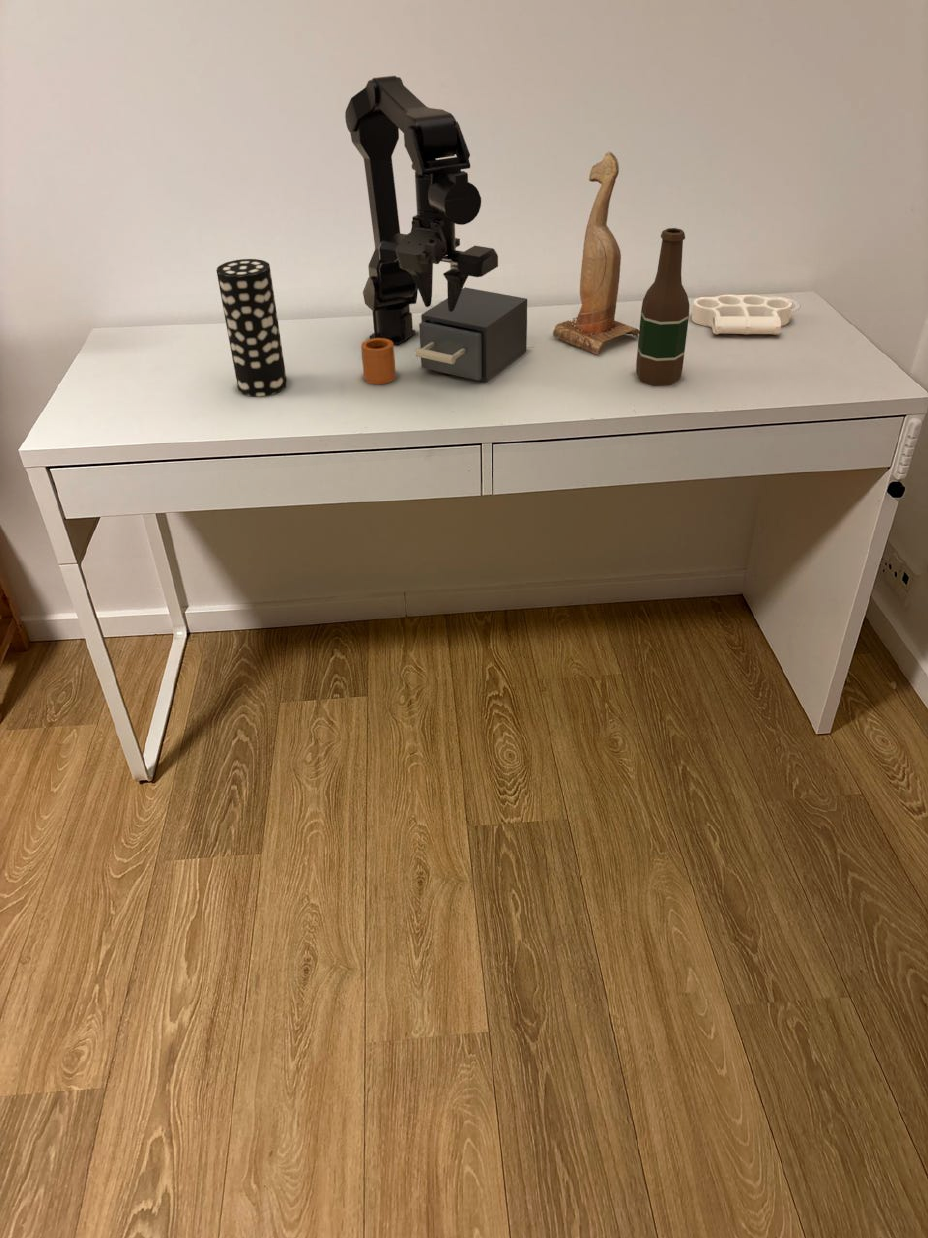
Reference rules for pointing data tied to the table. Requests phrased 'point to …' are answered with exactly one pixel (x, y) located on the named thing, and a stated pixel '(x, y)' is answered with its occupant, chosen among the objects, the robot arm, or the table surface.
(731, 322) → the white brass knuckles
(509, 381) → the table surface
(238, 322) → the spotted tube
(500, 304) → the cabinet
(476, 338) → the drawer
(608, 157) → the bird sculpture
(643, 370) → the beer bottle
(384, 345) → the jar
